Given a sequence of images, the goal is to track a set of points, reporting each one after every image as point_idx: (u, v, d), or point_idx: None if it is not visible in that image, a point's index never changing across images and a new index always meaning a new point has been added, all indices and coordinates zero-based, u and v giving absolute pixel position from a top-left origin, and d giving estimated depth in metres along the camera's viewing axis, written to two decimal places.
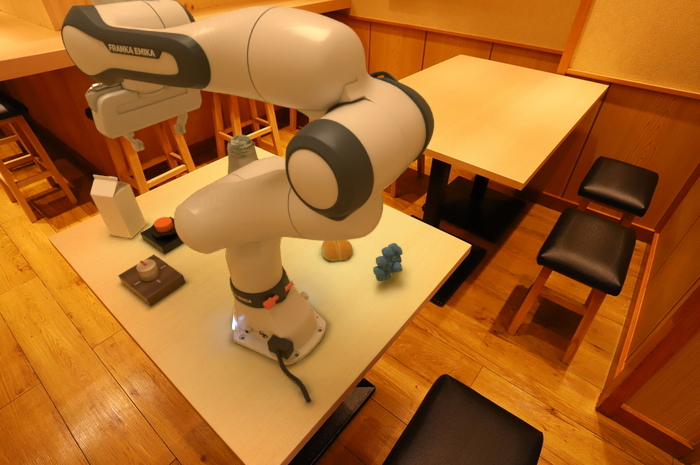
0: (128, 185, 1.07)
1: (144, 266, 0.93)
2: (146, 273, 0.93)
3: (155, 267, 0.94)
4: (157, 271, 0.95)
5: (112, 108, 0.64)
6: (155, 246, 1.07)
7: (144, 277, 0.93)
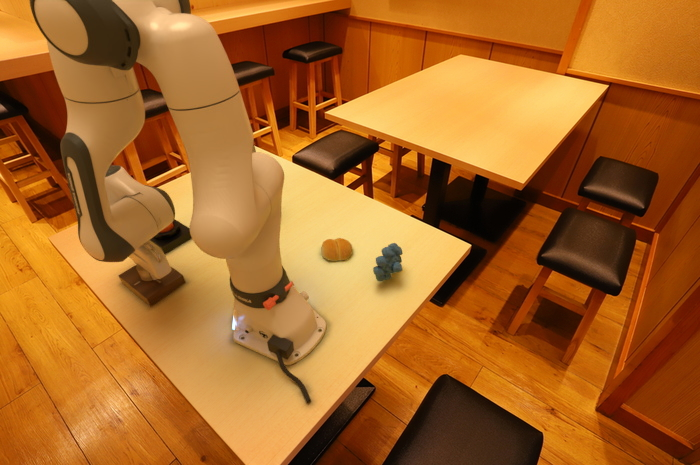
0: None
1: None
2: (146, 273, 0.93)
3: None
4: None
5: None
6: None
7: (144, 277, 0.93)
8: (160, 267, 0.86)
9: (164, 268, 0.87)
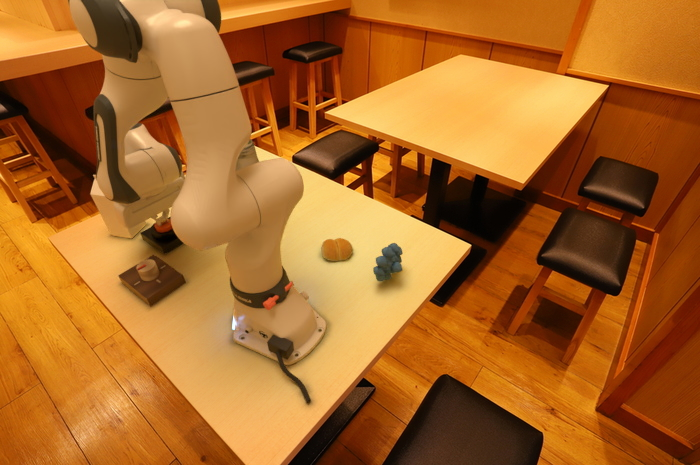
0: None
1: (147, 265, 0.94)
2: (156, 266, 0.95)
3: None
4: None
5: None
6: (155, 246, 1.07)
7: (156, 271, 0.95)
8: None
9: None
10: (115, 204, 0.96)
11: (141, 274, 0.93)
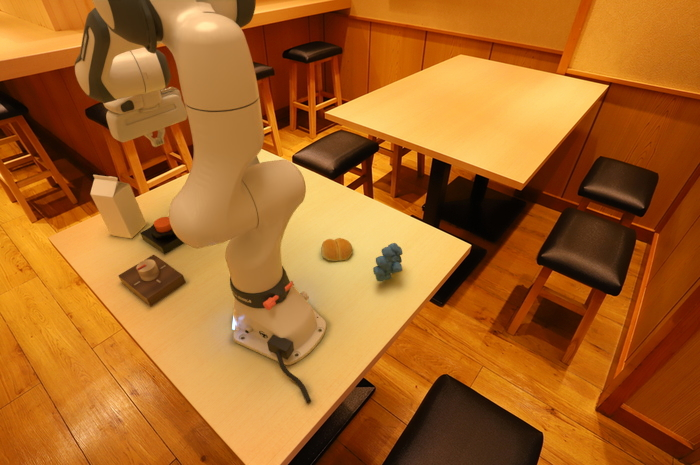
0: (128, 185, 1.07)
1: (147, 265, 0.94)
2: (156, 266, 0.95)
3: None
4: None
5: None
6: (155, 246, 1.07)
7: (156, 271, 0.95)
8: None
9: None
10: (108, 114, 0.92)
11: (141, 274, 0.93)
